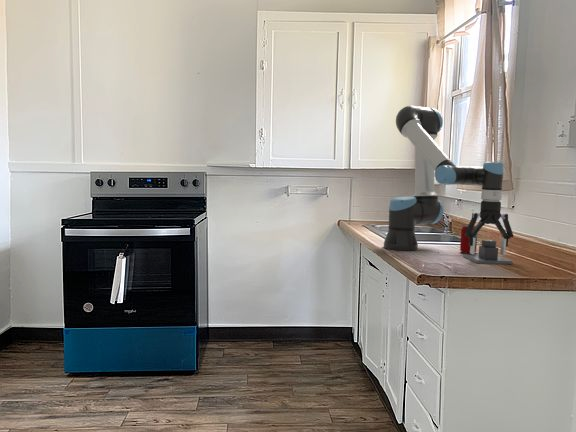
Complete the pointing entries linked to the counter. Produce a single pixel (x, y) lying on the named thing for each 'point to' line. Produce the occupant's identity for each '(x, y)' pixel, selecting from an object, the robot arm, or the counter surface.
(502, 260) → the hub
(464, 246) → the beverage can
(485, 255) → the knob
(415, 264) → the counter surface
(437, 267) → the counter surface
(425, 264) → the counter surface
